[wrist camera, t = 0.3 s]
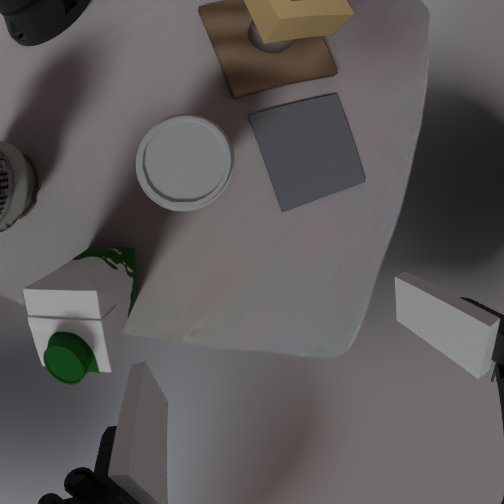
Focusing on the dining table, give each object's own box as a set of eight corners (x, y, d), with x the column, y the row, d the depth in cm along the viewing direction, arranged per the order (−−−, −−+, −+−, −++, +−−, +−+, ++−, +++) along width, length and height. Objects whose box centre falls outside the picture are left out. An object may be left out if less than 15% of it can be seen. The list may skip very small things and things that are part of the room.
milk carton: (88, 302, 38) (30, 382, 19) (81, 241, 36) (3, 288, 17) (144, 303, 40) (115, 392, 21) (140, 239, 38) (95, 291, 19)
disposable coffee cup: (209, 123, 36) (217, 97, 25) (232, 189, 39) (249, 191, 27) (141, 148, 35) (120, 133, 24) (165, 215, 38) (153, 227, 26)
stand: (198, 11, 32) (207, -69, 14) (295, -4, 33) (342, -68, 16) (233, 98, 36) (265, 40, 19) (333, 76, 38) (406, 31, 20)
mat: (247, 116, 37) (248, 115, 36) (335, 94, 38) (336, 93, 38) (281, 211, 41) (282, 212, 40) (363, 181, 42) (365, 181, 42)
